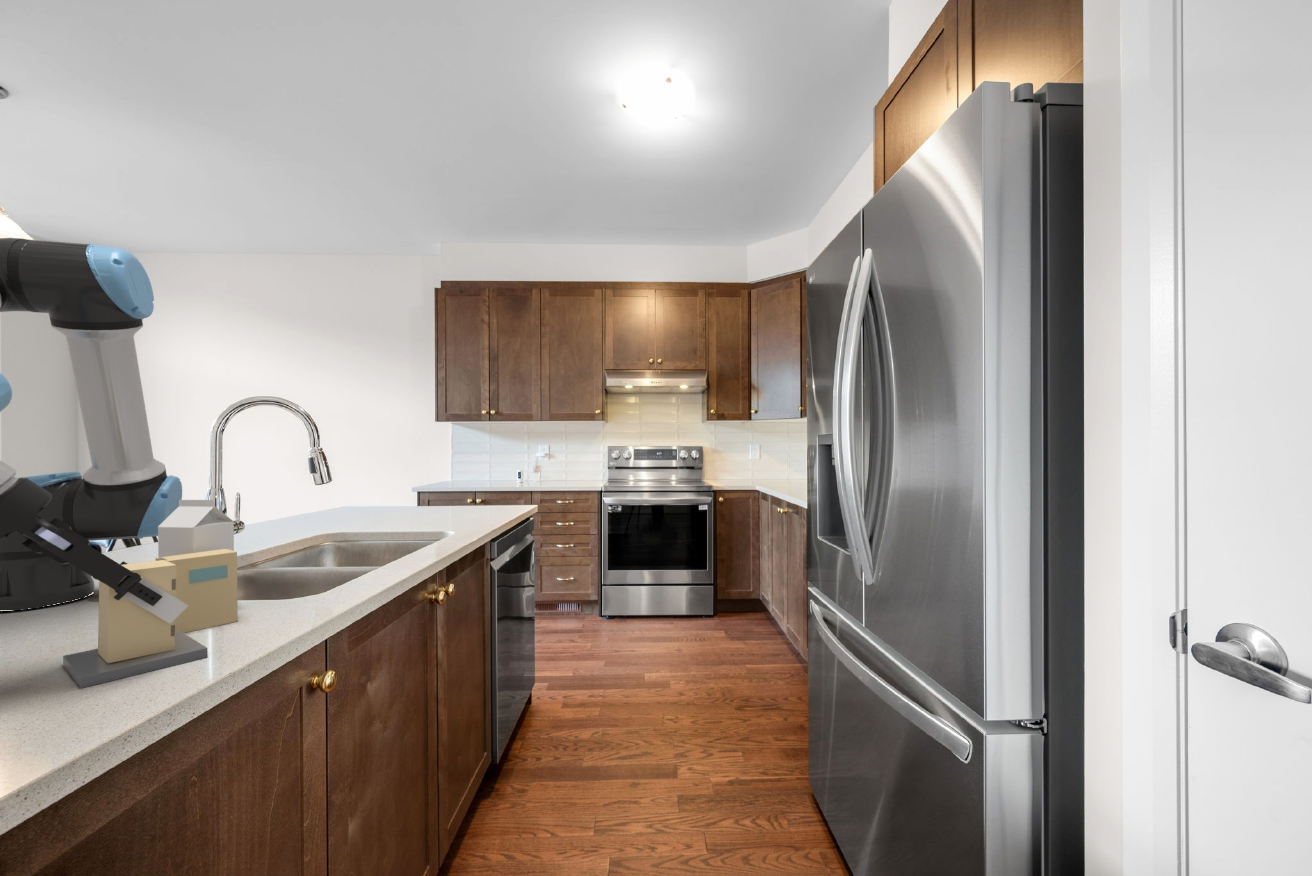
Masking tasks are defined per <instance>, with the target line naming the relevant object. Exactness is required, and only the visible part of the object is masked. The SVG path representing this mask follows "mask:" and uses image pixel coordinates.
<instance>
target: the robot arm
mask: <svg viewBox="0 0 1312 876" xmlns="http://www.w3.org/2000/svg"><path fill="white" fill-rule="evenodd" d="M153 291H154V290H153V287H152V283H151V280H150V278H149V275H148V273H147V271H146V269H145V267H144V266H143V264H142V263H141V262H140V261H139V259H138V258H137V257H136V256H135V255H134V254H132V253H131V252H130V251H127V250H126V249H123V248H119V247H112V246H106V245H100V244H95V243H93V244H92V243H78V242H77V243H76V242H65V241H52V240H51V241H50V240H48V241H47V240H36V239H27V238H20V237H19V238H17V237H3V238H2V237H1V238H0V313H5V312H6V313H7V312H30V313H41V314H42V313H43V314H44V313H45V314H48V316H49V320H50V325H51V328H53V329H55V330H56V331H58V332H59V333H61V334H63V335H64V336H65V337H66V342H67V346H68V351H69V356H70V362H71V367H72V371H73V376H74V381H75V386H76V392H77V396H78V402H79V406H80V411H81V417H82V421H83V427H84V431H85V436H86V437H85V438H86V442H87V447H88V452H89V457H90V462H91V466H90V467H89V468H88V469H87V470H86V471H85V472H84V473H83V475H82V474H81V472H79V471H66V472H58V473H57V472H56V473H49V474H39V475H32V476H24V477H23V476H22V477H16V475H17V470H16V469H14V468H13V467H12V466H10V465H8V464H7V463H5V462H3V461H2V460H0V610H21V609H28V608H36V609H38V608H37V607H43V606H47V605H53V604H57V603H63V602H66V601H72V600H75V599H79V598H84V597H85V596H88V595H89V594H91V593H92V592H94V593H95V581H94V580H96V581H98V582H99V581H101V582H102V583H104V584H106V585H108V586H109V587H111V588H113V589H114V590H115V592H116V593H118V594H117V595H115V596H114V597H113V598H115V599H116V600H118V601H119V600H120V599H121V598H122V597H125V598H127V599H129V600H130V601H132V602H134V603H135V604H137V605H139V606H140V607H142V608H144V609H146V610H147V611H149V612H151V613H152V614H154V615H156V616H158V617H159V618H161V619H163V620H164V621H166V622H168V623H170V624H171V623H172V622H173V621H174V620H175V619H176V618H177V617H178V616H179V615H180V614H181V613H182V612H183V611H184V610H185V609H186V608H187V607H188V605H187V604H185V603H183V602H182V601H180V600H178V599H177V598H175V597H174V596H172V595H170V594H169V593H167V592H165V591H164V590H162V589H161V588H159V587H157V586H156V585H154V584H153V583H151V582H149V581H148V580H146V579H144V578H143V577H141V576H140V575H139V574H138V573H136V572H135V573H133V572H132V571H130V570H128V569H127V568H125V567H123V566H122V565H124V564H128V563H127V562H126V561H122V562H120V563H119V562H117V561H115V560H114V559H112V558H110V557H109V556H107V555H105V554H104V553H102V552H100V551H99V550H97V549H95V547H93V546H91V542H92V541H108V540H126V539H128V540H129V539H141V540H142V539H144V538H150V537H158V526H159V525H160V524H161V523H162V522H163V521H164V520H165V519H166V518H167V517H168V516H169V515H170V514H171V513H172V512H173V511H175V510H176V509H177V508H178V507H179V500H183V485H182V482H181V479H180V478H179V476H175V475H167V470H166V464H164V463H163V462H161V461H159V460H157V459H155V458H154V453H153V447H152V446H153V445H152V439H151V436H150V430H149V422H148V415H147V409H146V404H145V399H144V398H145V397H144V391H143V385H142V378H141V372H140V368H139V360H138V356H137V349H136V343H135V335H136V334H137V332H139V331H140V330H141V329H142V328H143V327H144V324H143V323H144V322H143V320H144V319H146V318H150V316H152V315H153V312H154V310H155V306H154V303H153V302H154V300H155V298H154V292H153ZM12 397H13V389H12V386H11V384H10V382H9V381H8V379H7V378H6V377H5V376H4V374H3V373H1V372H0V413H1V412H2V411H3V410H5V409H6V408H7V407H8V406H9V404H10V403H11V400H12ZM124 577H125V578H124ZM123 578H124V579H123ZM122 579H123V580H122ZM121 580H122V581H121ZM120 581H121V582H120ZM119 582H120V583H119ZM118 583H119V584H118ZM84 599H85V598H84ZM43 608H44V607H43ZM21 611H22V610H21Z"/></svg>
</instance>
